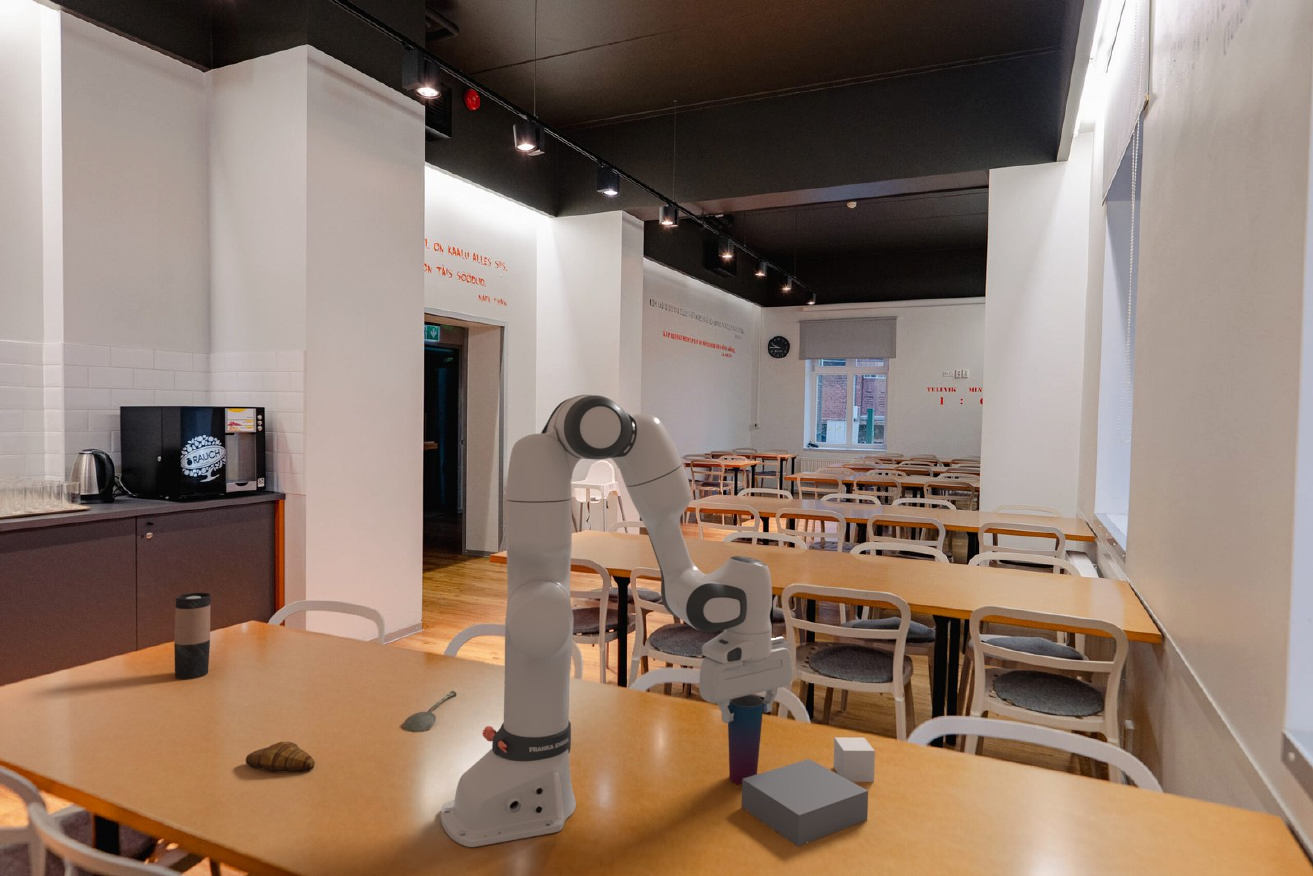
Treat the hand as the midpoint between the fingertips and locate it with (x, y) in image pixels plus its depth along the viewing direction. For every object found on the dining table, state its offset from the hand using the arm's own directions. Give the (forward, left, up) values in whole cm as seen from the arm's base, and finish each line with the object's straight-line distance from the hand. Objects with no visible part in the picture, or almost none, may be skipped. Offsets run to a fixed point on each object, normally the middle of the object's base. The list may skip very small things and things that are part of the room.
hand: (747, 716), depth 139 cm
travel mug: (-87, +113, -12) cm, 143 cm away
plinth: (+1, -15, -12) cm, 19 cm away
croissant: (-74, +47, -12) cm, 88 cm away
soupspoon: (-41, +60, -13) cm, 74 cm away
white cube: (+19, -9, -12) cm, 25 cm away
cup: (-1, 0, -12) cm, 12 cm away
